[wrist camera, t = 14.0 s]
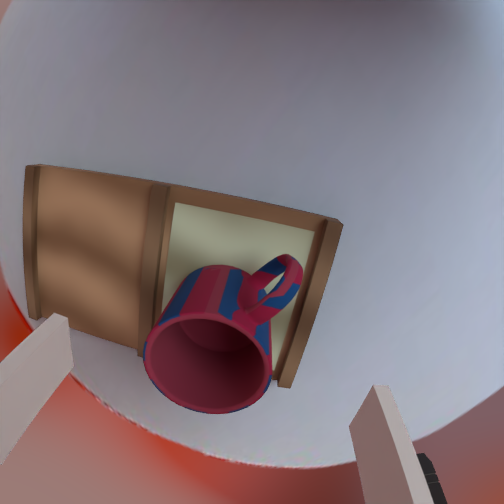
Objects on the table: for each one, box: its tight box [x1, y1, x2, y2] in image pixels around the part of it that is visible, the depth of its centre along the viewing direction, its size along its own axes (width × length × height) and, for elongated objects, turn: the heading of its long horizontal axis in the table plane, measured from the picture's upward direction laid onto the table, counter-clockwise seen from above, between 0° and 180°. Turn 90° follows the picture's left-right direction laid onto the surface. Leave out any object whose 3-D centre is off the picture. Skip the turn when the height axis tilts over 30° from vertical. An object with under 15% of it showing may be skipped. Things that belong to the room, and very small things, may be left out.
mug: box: [143, 254, 303, 414], centre depth 18 cm, size 7×10×7 cm
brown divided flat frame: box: [23, 164, 343, 388], centre depth 21 cm, size 15×23×3 cm, turn 78°
